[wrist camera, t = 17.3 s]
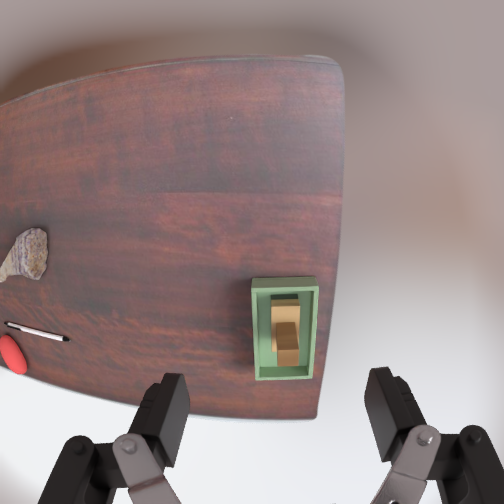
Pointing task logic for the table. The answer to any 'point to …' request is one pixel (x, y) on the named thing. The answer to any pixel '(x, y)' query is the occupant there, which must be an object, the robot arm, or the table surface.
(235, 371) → the table surface
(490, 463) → the robot arm
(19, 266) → the mineral specimen
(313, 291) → the tray
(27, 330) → the pen
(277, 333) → the scrub brush
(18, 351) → the stress ball
